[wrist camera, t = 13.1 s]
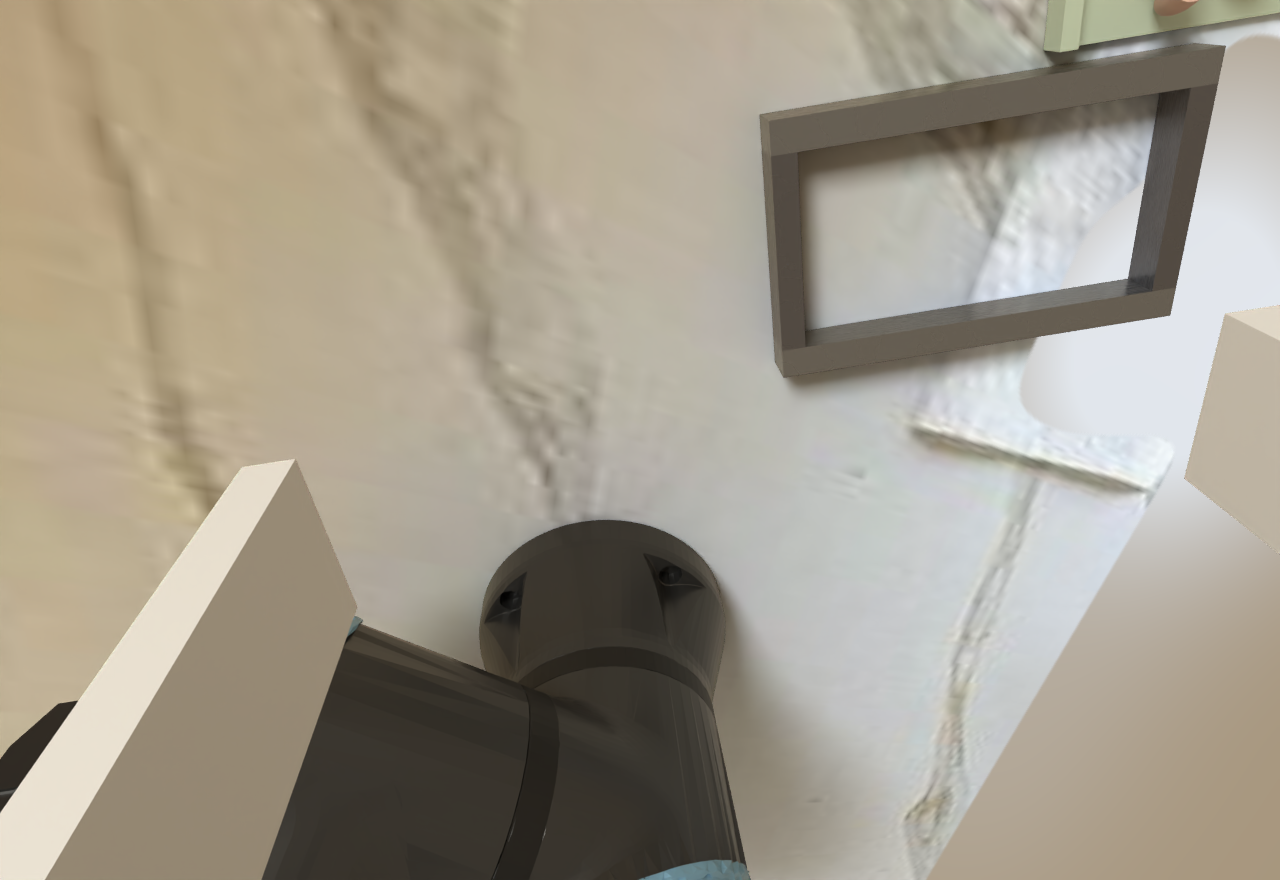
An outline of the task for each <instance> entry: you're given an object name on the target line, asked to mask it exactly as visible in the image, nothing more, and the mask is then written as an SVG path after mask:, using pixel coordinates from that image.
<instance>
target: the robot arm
mask: <svg viewBox="0 0 1280 880" xmlns="http://www.w3.org/2000/svg"><path fill="white" fill-rule="evenodd" d="M1184 479H1185V480H1187V481H1188V482H1189V483H1191V484H1192V485H1193V486H1194V487H1196V488H1197V489H1198V490H1200V491H1201V492H1202V493H1203V494H1204V495H1206V496H1207V497H1208V498H1210V499H1211V500H1212V501H1213V502H1214V503H1216V504H1217V505H1218V506H1219V507H1221V508H1222V509H1223V510H1224V511H1226V512H1227V513H1228V514H1229V515H1231V516H1232V517H1233V518H1234V519H1236V520H1237V521H1238V522H1239V523H1241V524H1242V525H1243V526H1244V527H1246V528H1247V529H1248V530H1249V531H1251V532H1252V533H1253V534H1254V535H1256V536H1257V537H1258V538H1260V539H1261V540H1262V541H1263V542H1264V543H1266V544H1267V545H1268V546H1269V547H1271V548H1272V549H1273V550H1275V551H1276V552H1277V553H1278V554H1280V305H1277V306H1271V307H1264V308H1258V309H1252V310H1245V311H1240V312H1232V313H1226V314H1225V316H1224V320H1223V324H1222V328H1221V332H1220V336H1219V340H1218V344H1217V348H1216V352H1215V356H1214V360H1213V364H1212V368H1211V372H1210V376H1209V381H1208V384H1207V388H1206V393H1205V397H1204V401H1203V405H1202V409H1201V413H1200V417H1199V421H1198V425H1197V429H1196V433H1195V437H1194V441H1193V445H1192V449H1191V453H1190V457H1189V461H1188V465H1187V469H1186V474H1185V478H1184ZM356 609H357V605H356V602H355V600H354V598H353V595H352V593H351V590H350V588H349V586H348V583H347V581H346V578H345V576H344V574H343V571H342V569H341V566H340V564H339V562H338V559H337V557H336V554H335V552H334V550H333V547H332V545H331V542H330V540H329V538H328V535H327V533H326V530H325V528H324V526H323V523H322V521H321V518H320V516H319V514H318V511H317V509H316V506H315V504H314V502H313V499H312V497H311V494H310V492H309V490H308V487H307V485H306V482H305V480H304V478H303V475H302V473H301V470H300V468H299V466H298V463H297V461H296V459H291V460H285V461H278V462H272V463H265V464H259V465H253V466H246V467H241V469H240V470H239V472H238V473H237V475H236V476H235V478H234V479H233V480H232V482H231V483H230V485H229V486H228V488H227V489H226V490H225V492H224V493H223V495H222V496H221V498H220V499H219V500H218V502H217V503H216V505H215V506H214V508H213V509H212V510H211V512H210V513H209V515H208V516H207V518H206V519H205V520H204V522H203V523H202V525H201V526H200V528H199V529H198V530H197V532H196V533H195V535H194V536H193V538H192V539H191V541H190V542H189V543H188V545H187V546H186V548H185V549H184V551H183V552H182V553H181V555H180V556H179V558H178V559H177V561H176V562H175V563H174V565H173V566H172V568H171V569H170V571H169V572H168V573H167V575H166V576H165V578H164V579H163V581H162V582H161V583H160V585H159V586H158V588H157V589H156V591H155V592H154V593H153V595H152V596H151V598H150V599H149V601H148V602H147V604H146V605H145V606H144V608H143V609H142V611H141V612H140V614H139V615H138V616H137V618H136V619H135V621H134V622H133V624H132V625H131V626H130V628H129V629H128V631H127V632H126V634H125V635H124V636H123V638H122V639H121V641H120V642H119V644H118V645H117V646H116V648H115V649H114V651H113V652H112V654H111V655H110V656H109V658H108V659H107V661H106V662H105V664H104V665H103V667H102V668H101V669H100V671H99V672H98V674H97V675H96V677H95V678H94V679H93V681H92V682H91V684H90V685H89V687H88V688H87V689H86V691H85V692H84V694H83V695H82V697H81V698H80V699H79V701H73V702H66V703H60V704H58V705H56V706H55V707H54V708H53V709H52V710H51V711H50V712H48V713H47V714H46V715H45V716H44V717H43V718H42V719H40V720H39V721H38V722H37V723H36V724H35V725H34V726H33V727H31V728H30V729H29V730H28V731H27V732H26V733H25V734H23V735H22V736H21V737H20V738H19V739H18V740H17V741H15V742H14V743H13V744H12V745H11V746H10V747H9V748H8V750H7V751H6V752H5V754H4V755H3V756H2V758H1V759H0V880H751V879H750V876H749V874H748V873H749V871H747V866H746V861H745V857H744V852H743V847H742V843H741V838H740V833H739V828H738V824H737V819H736V814H735V810H734V805H733V800H732V796H731V791H730V786H729V781H728V777H727V772H726V767H725V763H724V758H723V753H722V748H721V744H720V739H719V734H718V730H717V726H716V721H715V716H714V710H713V704H712V701H713V696H714V691H715V687H716V682H717V677H718V672H719V667H720V662H721V658H722V653H723V648H724V643H725V616H724V610H723V606H722V602H721V598H720V593H719V590H718V586H717V583H716V581H715V578H714V576H713V574H712V572H711V571H710V569H709V567H708V566H707V565H706V563H705V562H704V561H703V559H702V558H701V557H700V556H699V555H698V554H697V553H696V552H695V551H694V550H693V549H691V548H690V547H689V546H688V545H686V544H685V543H683V542H682V541H681V540H679V539H677V538H675V537H674V536H672V535H670V534H668V533H666V532H664V531H661V530H658V529H656V528H653V527H650V526H646V525H642V524H638V523H633V522H627V521H616V520H596V521H586V522H579V523H574V524H570V525H566V526H562V527H559V528H556V529H553V530H551V531H548V532H546V533H543V534H541V535H539V536H537V537H535V538H534V539H532V540H530V541H528V542H527V543H525V544H524V545H522V546H521V547H520V548H518V549H517V550H516V551H515V552H513V553H512V554H511V555H510V556H509V557H508V558H507V559H506V560H505V561H504V562H503V563H502V565H501V566H500V567H499V568H498V570H497V571H496V573H495V574H494V576H493V577H492V579H491V581H490V583H489V585H488V588H487V590H486V593H485V597H484V601H483V607H482V614H481V621H480V628H479V640H480V650H481V656H482V659H483V663H484V666H485V669H486V671H484V670H481V669H479V668H476V667H473V666H471V665H468V664H465V663H463V662H460V661H457V660H455V659H452V658H450V657H447V656H444V655H442V654H439V653H436V652H434V651H431V650H428V649H426V648H423V647H421V646H418V645H415V644H413V643H410V642H407V641H405V640H402V639H400V638H397V637H394V636H392V635H389V634H386V633H384V632H381V631H378V630H376V629H373V628H371V627H368V626H365V625H363V624H361V623H362V621H363V620H362V619H361V618H359V617H356V616H354V615H355V612H356Z"/></svg>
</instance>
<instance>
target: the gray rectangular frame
mask: <svg viewBox="0 0 1280 880" xmlns="http://www.w3.org/2000/svg"><path fill="white" fill-rule="evenodd" d="M1225 47H1226V46H1222V45H1210V44H1199V43H1192V44H1186V45H1180V46H1174V47H1168V48H1162V49H1156V50H1150V51H1143V52H1137V53H1131V54H1125V55H1119V56H1113V57H1107V58H1101V59H1095V60H1089V61H1083V62H1076V63H1070V64H1064V65H1058V66H1052V67H1046V68H1040V69H1034V70H1028V71H1022V72H1015V73H1009V74H1003V75H997V76H991V77H985V78H979V79H973V80H967V81H961V82H955V83H948V84H942V85H936V86H930V87H924V88H918V89H912V90H906V91H900V92H894V93H888V94H881V95H875V96H869V97H863V98H857V99H851V100H845V101H839V102H833V103H827V104H821V105H814V106H808V107H802V108H796V109H790V110H784V111H778V112H772V113H766V114H760V129H761V145H762V161H763V177H764V193H765V209H766V225H767V241H768V257H769V273H770V289H771V305H772V321H773V337H774V353H775V363H776V364H777V366H778V368H779V370H780V372H781V374H782V376H783V377H784V378H785V377H791V376H797V375H803V374H809V373H816V372H822V371H828V370H834V369H840V368H847V367H853V366H859V365H865V364H872V363H878V362H884V361H890V360H896V359H903V358H909V357H915V356H921V355H927V354H934V353H940V352H946V351H952V350H959V349H965V348H971V347H977V346H983V345H990V344H996V343H1002V342H1008V341H1014V340H1021V339H1027V338H1033V337H1039V336H1045V335H1052V334H1058V333H1064V332H1070V331H1077V330H1083V329H1089V328H1095V327H1101V326H1107V325H1113V324H1120V323H1126V322H1133V321H1139V320H1145V319H1151V318H1157V317H1164V316H1170V314H1171V309H1172V304H1173V299H1174V294H1175V289H1176V285H1177V280H1178V275H1179V270H1180V265H1181V260H1182V255H1183V251H1184V246H1185V241H1186V236H1187V231H1188V226H1189V222H1190V217H1191V212H1192V207H1193V202H1194V197H1195V192H1196V188H1197V183H1198V177H1199V173H1200V168H1201V163H1202V158H1203V154H1204V149H1205V144H1206V139H1207V134H1208V129H1209V125H1210V120H1211V115H1212V110H1213V105H1214V100H1215V96H1216V91H1217V85H1218V81H1219V75H1220V71H1221V67H1222V62H1223V57H1224V52H1225ZM1156 93H1160V98H1159V103H1158V109H1157V115H1156V121H1155V126H1154V132H1153V138H1152V144H1151V149H1150V155H1149V161H1148V167H1147V173H1146V178H1145V184H1144V190H1143V196H1142V201H1141V207H1140V213H1139V219H1138V225H1137V230H1136V236H1135V242H1134V248H1133V253H1132V259H1131V265H1130V271H1129V277H1128V279H1124V280H1117V281H1111V282H1105V283H1099V284H1093V285H1087V286H1080V287H1074V288H1068V289H1062V290H1055V291H1049V292H1043V293H1037V294H1031V295H1024V296H1018V297H1012V298H1006V299H1000V300H993V301H987V302H981V303H975V304H969V305H962V306H956V307H950V308H944V309H938V310H931V311H925V312H919V313H913V314H907V315H901V316H894V317H888V318H882V319H876V320H870V321H863V322H857V323H851V324H845V325H839V326H832V327H826V328H820V329H814V330H808V331H805V320H804V296H803V272H802V247H801V223H800V198H799V174H798V152H801V151H807V150H813V149H819V148H826V147H832V146H838V145H844V144H850V143H856V142H862V141H868V140H874V139H881V138H887V137H893V136H899V135H905V134H911V133H917V132H923V131H929V130H936V129H942V128H948V127H954V126H960V125H966V124H972V123H978V122H984V121H991V120H997V119H1003V118H1009V117H1015V116H1021V115H1027V114H1033V113H1040V112H1046V111H1052V110H1058V109H1064V108H1070V107H1076V106H1082V105H1088V104H1095V103H1101V102H1107V101H1113V100H1119V99H1125V98H1131V97H1137V96H1143V95H1150V94H1156Z"/></svg>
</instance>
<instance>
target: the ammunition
mask: <svg viewBox="0 0 1280 880" xmlns="http://www.w3.org/2000/svg"><path fill="white" fill-rule="evenodd" d="M1198 1H1199V0H1154V10H1155V12H1156V13H1157V14H1158V15H1160V16H1172V15H1175V14H1178V13H1181V12H1183V11H1185V10H1187V9H1188V8H1190V7H1191V6H1192V5H1194V4H1195V3H1196V2H1198Z"/></svg>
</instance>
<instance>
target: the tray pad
mask: <svg viewBox="0 0 1280 880" xmlns="http://www.w3.org/2000/svg"><path fill="white" fill-rule="evenodd" d="M1274 13H1280V0H1199V1H1198V2H1196V3H1195V4H1194V5H1192V6H1191V7H1190V8H1188V9H1187V10H1185V11H1183V12H1181V13H1178V14H1175V15H1172V16H1160V15H1158V14H1157V13H1156V12H1155V10H1154V0H1049V2H1048V12H1047V21H1046V31H1045V41H1044V50H1047V51H1055V52H1064V51H1071V50H1077V49H1078V48H1079V46H1080V45H1086V44H1092V43H1098V42H1104V41H1110V40H1116V39H1122V38H1128V37H1134V36H1140V35H1147V34H1153V33H1159V32H1165V31H1171V30H1177V29H1183V28H1189V27H1195V26H1201V25H1207V24H1214V23H1220V22H1226V21H1232V20H1238V19H1244V18H1250V17H1256V16H1262V15H1268V14H1274Z"/></svg>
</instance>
